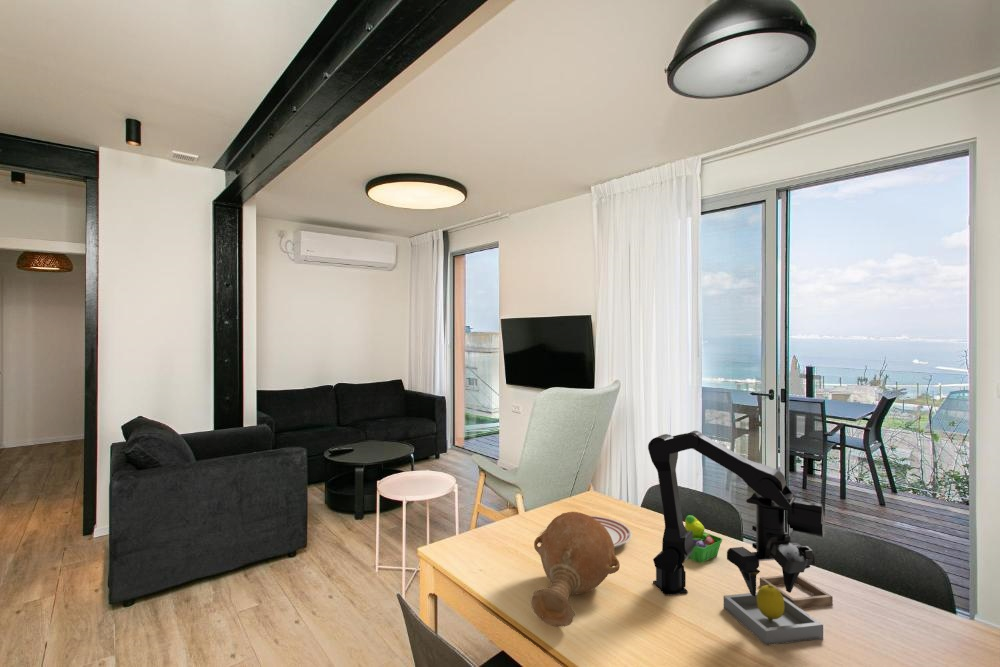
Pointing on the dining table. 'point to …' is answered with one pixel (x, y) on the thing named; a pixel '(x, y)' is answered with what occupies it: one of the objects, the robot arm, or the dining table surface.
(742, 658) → the dining table surface
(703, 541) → the fruit basket
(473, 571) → the dining table surface
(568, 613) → the jug
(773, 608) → the lemon
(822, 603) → the lemon holder
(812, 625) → the tray
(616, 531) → the dinner plate
